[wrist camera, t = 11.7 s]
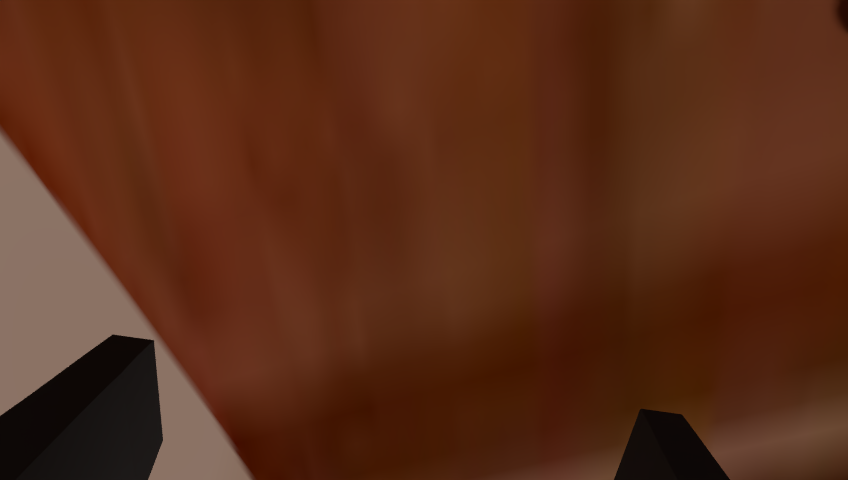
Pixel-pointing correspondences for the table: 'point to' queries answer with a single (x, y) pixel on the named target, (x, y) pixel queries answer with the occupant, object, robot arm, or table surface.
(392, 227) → the table surface
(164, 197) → the table surface
